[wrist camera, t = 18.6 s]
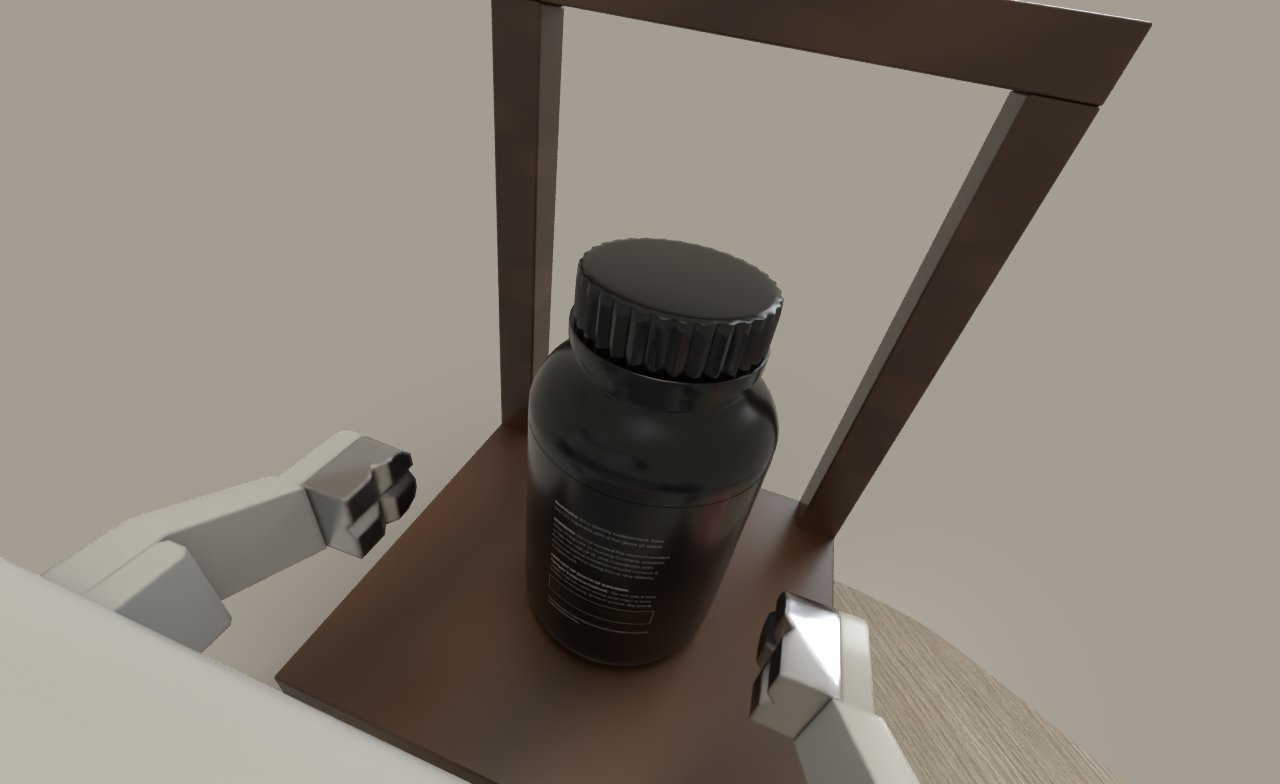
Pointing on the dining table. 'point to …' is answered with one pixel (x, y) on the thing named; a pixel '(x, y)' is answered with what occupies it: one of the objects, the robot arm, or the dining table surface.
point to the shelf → (777, 525)
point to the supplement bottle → (647, 446)
